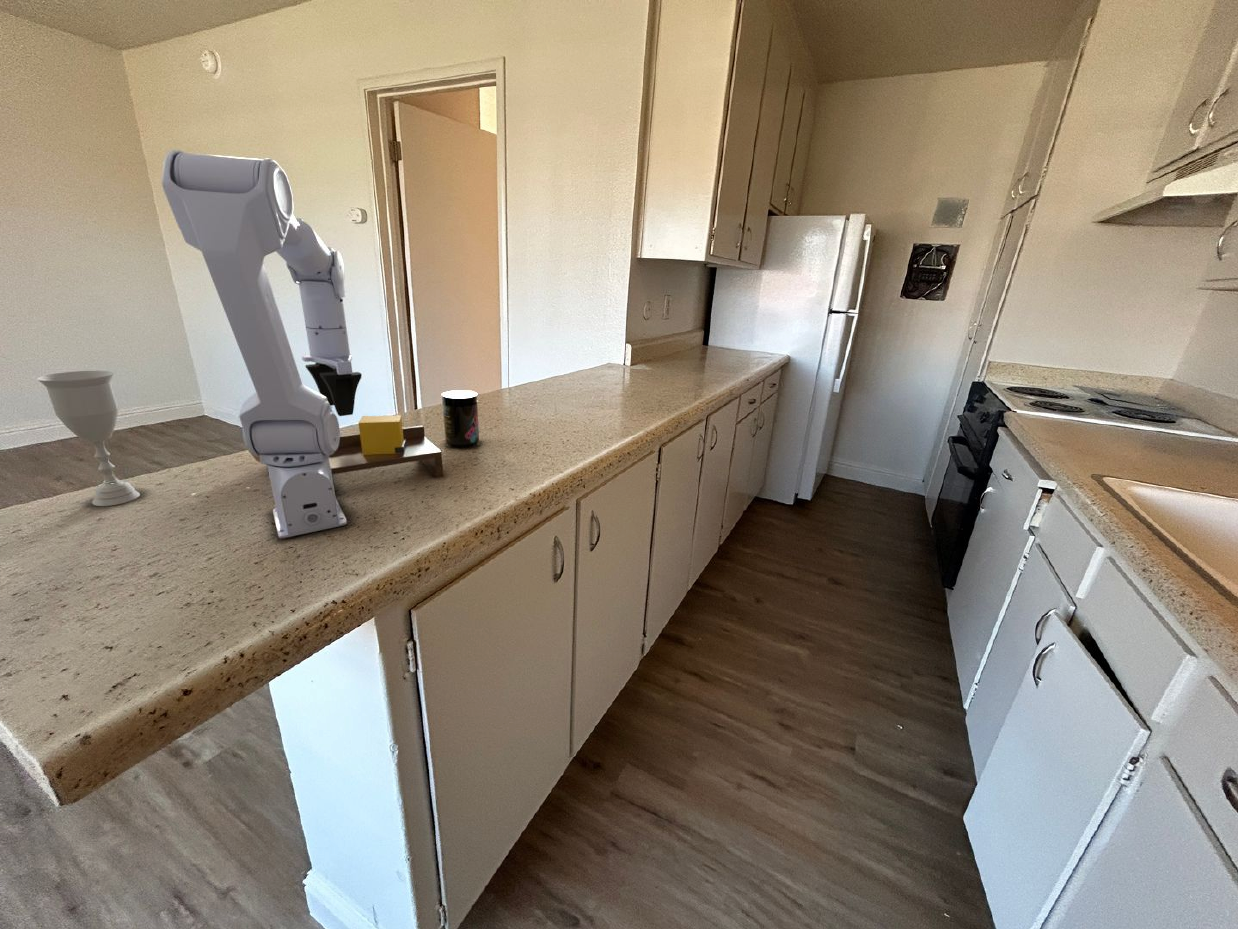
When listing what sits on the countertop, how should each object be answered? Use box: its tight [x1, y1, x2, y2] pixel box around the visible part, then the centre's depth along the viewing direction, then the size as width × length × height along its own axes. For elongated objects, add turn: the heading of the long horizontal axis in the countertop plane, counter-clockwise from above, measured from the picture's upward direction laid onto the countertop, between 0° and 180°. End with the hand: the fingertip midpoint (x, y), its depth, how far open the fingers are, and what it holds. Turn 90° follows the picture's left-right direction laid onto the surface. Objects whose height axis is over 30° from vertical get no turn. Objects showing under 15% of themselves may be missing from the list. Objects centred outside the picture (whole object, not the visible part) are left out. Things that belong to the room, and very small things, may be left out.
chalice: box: [36, 370, 141, 507], centre depth 71 cm, size 7×7×18 cm
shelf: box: [329, 425, 444, 478], centre depth 86 cm, size 10×18×6 cm, turn 126°
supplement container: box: [441, 390, 480, 449], centre depth 103 cm, size 7×7×10 cm
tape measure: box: [358, 414, 406, 455], centre depth 85 cm, size 4×6×6 cm, turn 107°
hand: (338, 409), depth 86 cm, fingers open, 7 cm apart
